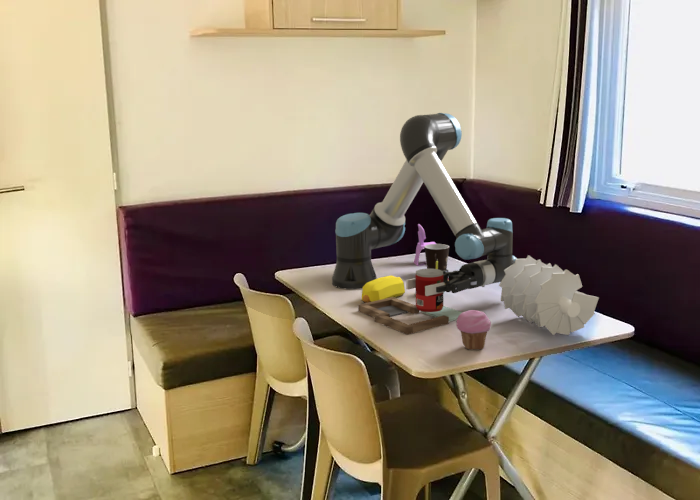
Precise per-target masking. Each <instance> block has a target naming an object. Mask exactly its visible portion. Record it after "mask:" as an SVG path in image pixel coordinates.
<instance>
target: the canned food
mask: <svg viewBox="0 0 700 500" xmlns="http://www.w3.org/2000/svg"><path fill="white" fill-rule="evenodd" d="M414 278H415V283H416V288H415V305H416V308H417V309H418V310H419V312H421V311H423V312H437V311H440V310H442V308H443V306H444V294H443V293H438V294H434V295H430V296H425V286H429V285H433V284H438V283H442V282H443V271H441V270H438V269H427V268H422V269H421V268H420V269H417V270H416V271H415V277H414Z"/></svg>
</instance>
